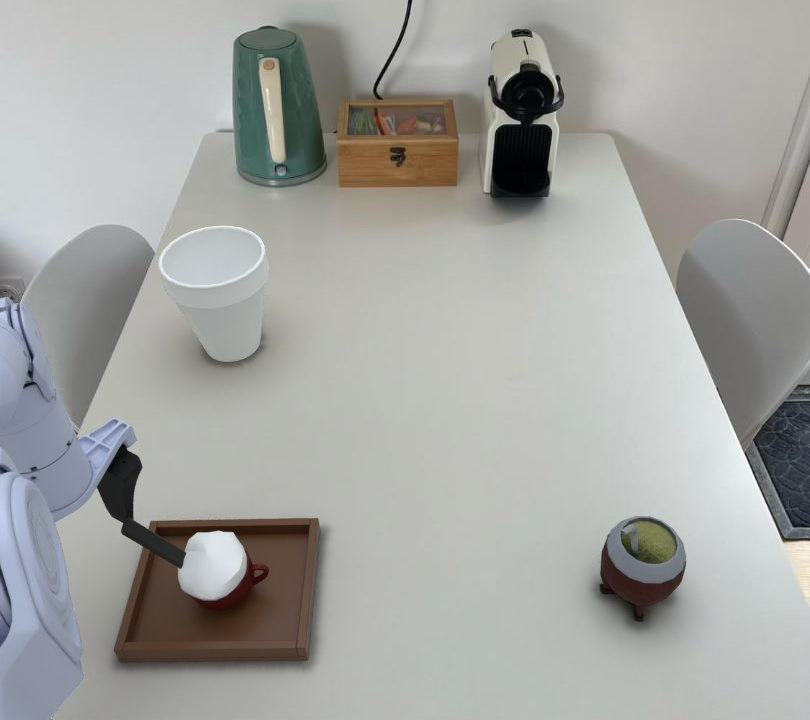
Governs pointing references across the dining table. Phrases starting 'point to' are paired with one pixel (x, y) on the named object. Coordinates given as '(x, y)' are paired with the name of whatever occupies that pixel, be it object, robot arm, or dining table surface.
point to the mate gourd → (642, 562)
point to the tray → (232, 628)
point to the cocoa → (205, 564)
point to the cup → (219, 287)
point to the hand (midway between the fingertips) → (89, 552)
